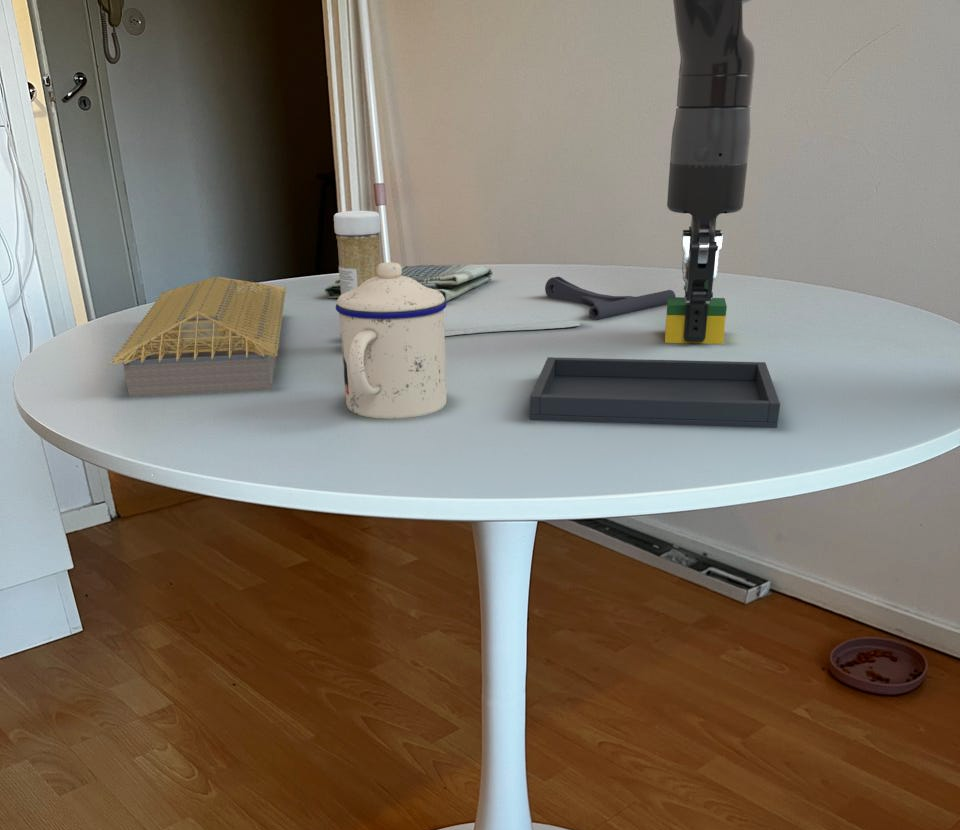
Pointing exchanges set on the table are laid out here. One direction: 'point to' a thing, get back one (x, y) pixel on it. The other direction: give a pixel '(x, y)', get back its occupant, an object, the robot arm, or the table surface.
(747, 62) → the robot arm
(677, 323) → the sponge
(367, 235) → the sprinkles bottle
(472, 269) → the dish towel
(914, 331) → the table surface
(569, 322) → the butter knife
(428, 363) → the teacup with lid
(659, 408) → the tray
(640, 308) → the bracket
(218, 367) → the rafter model
